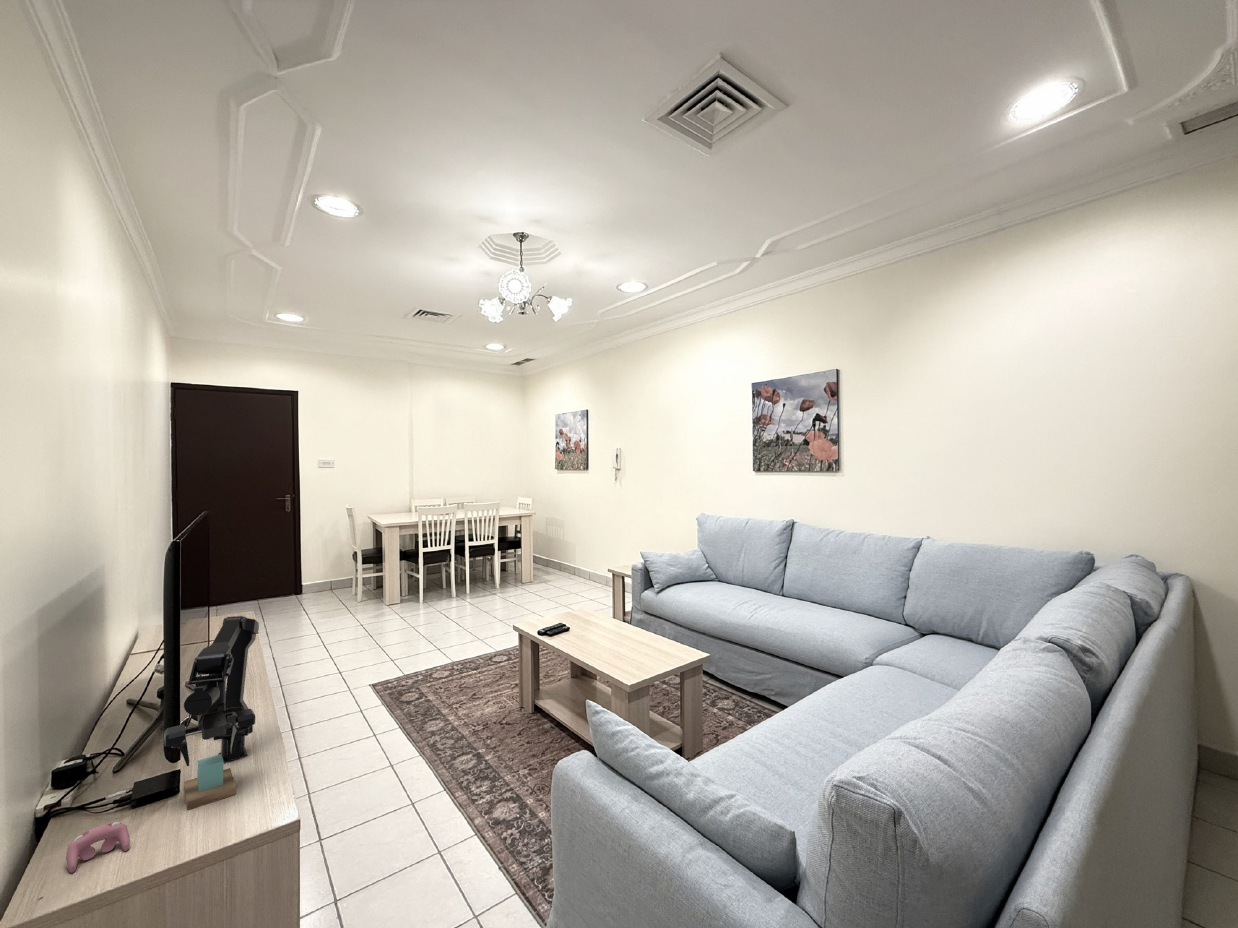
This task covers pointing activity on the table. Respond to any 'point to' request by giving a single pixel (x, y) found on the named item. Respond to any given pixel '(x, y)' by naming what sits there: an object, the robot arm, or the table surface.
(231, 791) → the base plinth
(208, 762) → the teal block
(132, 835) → the table surface
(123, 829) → the video game controller
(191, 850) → the table surface
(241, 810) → the table surface
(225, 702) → the robot arm
